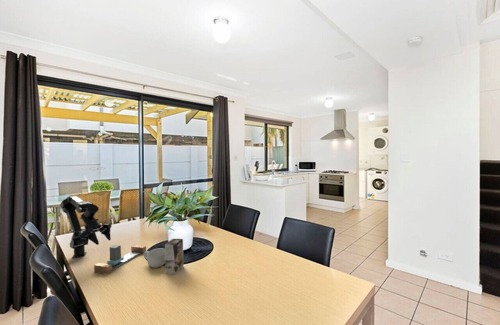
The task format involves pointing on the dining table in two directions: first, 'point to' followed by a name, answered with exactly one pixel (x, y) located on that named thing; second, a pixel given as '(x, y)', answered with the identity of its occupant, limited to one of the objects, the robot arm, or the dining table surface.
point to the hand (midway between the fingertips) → (104, 242)
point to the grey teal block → (115, 255)
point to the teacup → (155, 257)
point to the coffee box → (173, 256)
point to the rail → (108, 268)
